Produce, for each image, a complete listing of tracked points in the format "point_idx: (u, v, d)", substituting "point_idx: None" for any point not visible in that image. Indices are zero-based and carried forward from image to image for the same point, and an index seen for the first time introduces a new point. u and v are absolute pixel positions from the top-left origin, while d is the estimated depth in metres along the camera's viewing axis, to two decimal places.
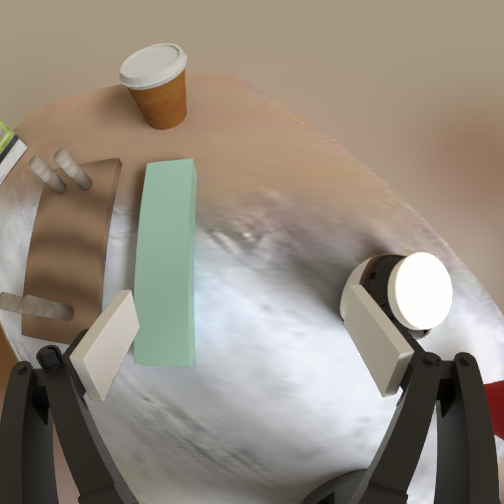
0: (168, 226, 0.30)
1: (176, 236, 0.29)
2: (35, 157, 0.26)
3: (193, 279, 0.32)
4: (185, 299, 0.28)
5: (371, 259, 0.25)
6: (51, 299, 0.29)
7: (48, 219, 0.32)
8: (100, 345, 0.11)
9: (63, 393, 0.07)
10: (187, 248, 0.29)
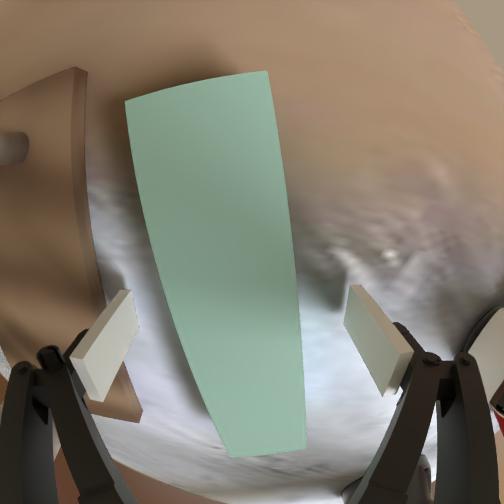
0: (242, 285, 0.12)
1: (270, 308, 0.13)
2: None
3: None
4: (302, 397, 0.15)
5: None
6: None
7: None
8: (100, 345, 0.11)
9: (63, 393, 0.07)
10: (298, 326, 0.13)
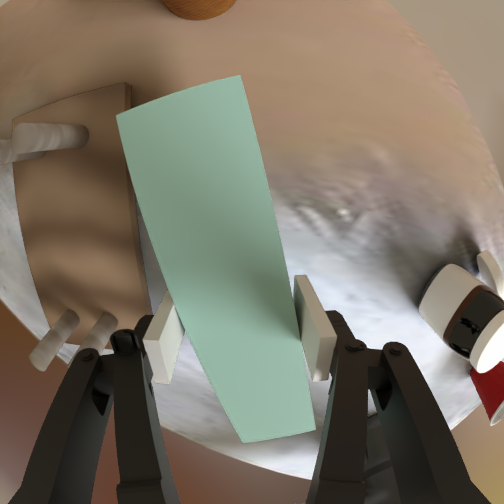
0: (236, 272, 0.13)
1: (263, 291, 0.14)
2: None
3: None
4: (304, 377, 0.16)
5: (472, 292, 0.19)
6: (80, 306, 0.24)
7: (35, 198, 0.20)
8: (168, 328, 0.13)
9: (131, 378, 0.09)
10: (292, 306, 0.14)
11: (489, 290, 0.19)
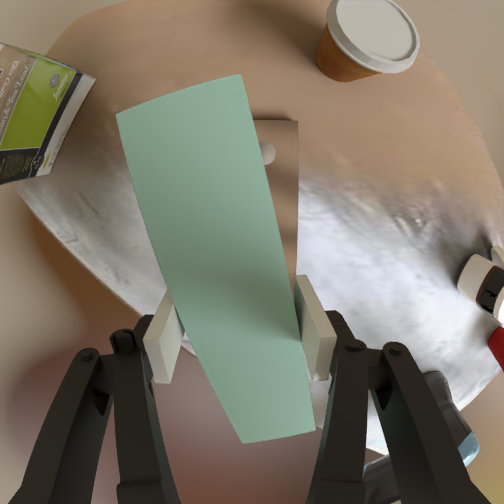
0: (236, 271, 0.13)
1: (263, 291, 0.14)
2: None
3: None
4: (304, 377, 0.16)
5: (491, 269, 0.29)
6: None
7: None
8: (168, 328, 0.13)
9: (131, 378, 0.09)
10: (293, 306, 0.14)
11: (501, 268, 0.29)
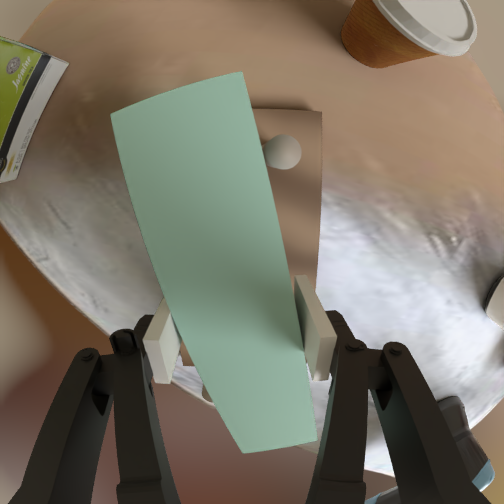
0: (236, 280, 0.13)
1: (265, 300, 0.13)
2: None
3: None
4: (307, 388, 0.15)
5: None
6: None
7: None
8: (168, 328, 0.13)
9: (131, 378, 0.09)
10: (296, 317, 0.13)
11: None
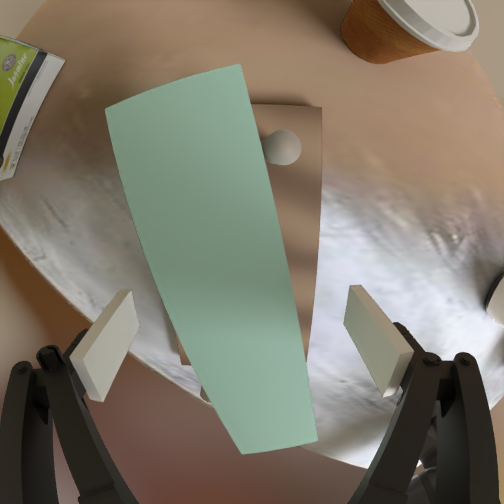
0: (235, 280, 0.12)
1: (264, 300, 0.13)
2: None
3: None
4: (307, 389, 0.15)
5: None
6: None
7: None
8: (100, 345, 0.11)
9: (63, 393, 0.07)
10: (296, 316, 0.13)
11: None
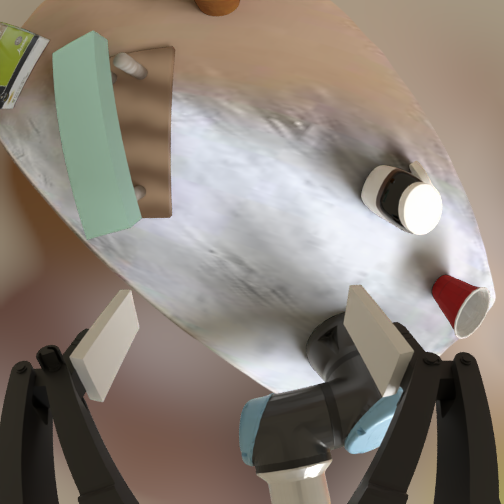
0: (81, 103, 0.22)
1: (90, 110, 0.22)
2: None
3: (120, 140, 0.27)
4: (111, 165, 0.25)
5: (392, 171, 0.32)
6: None
7: None
8: (100, 345, 0.11)
9: (63, 393, 0.07)
10: (102, 117, 0.23)
11: (407, 172, 0.32)
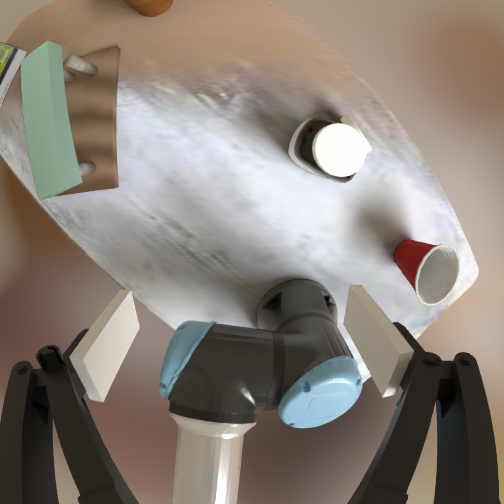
0: (38, 94, 0.24)
1: (44, 99, 0.25)
2: None
3: (67, 121, 0.29)
4: (56, 138, 0.27)
5: (308, 120, 0.34)
6: None
7: None
8: (100, 345, 0.11)
9: (63, 393, 0.07)
10: (51, 103, 0.25)
11: (325, 119, 0.33)
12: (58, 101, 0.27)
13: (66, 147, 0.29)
